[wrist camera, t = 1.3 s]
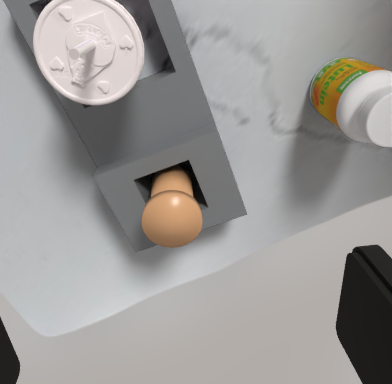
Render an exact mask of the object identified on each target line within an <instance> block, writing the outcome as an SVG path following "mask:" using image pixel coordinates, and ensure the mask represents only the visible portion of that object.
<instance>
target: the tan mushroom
mask: <svg viewBox="0 0 392 384" xmlns="http://www.w3.org/2000/svg"><path fill="white" fill-rule="evenodd" d="M202 223H203V221H202V213H201V208H200V206H199V204H198V202H197V201H196V200H195V199H194V198H193V189H192V180H191V175H190V173H189V172H188V170H187V169H186V168H185V167H183V166H181V165H179V164H176V165H173V166H170V167H167V168H165V169H162V170H159V171H157V172H155V173H154V175H153V180H152V190H151V198H150V199H149V200H148V201H147V203H146V204H145V206H144V209H143V214H142V228H143V231H144V233H145V234H146V236H147V237H148V238H149V239H150V240H151V241H153V242H154V243H156V244H158V245H160V246H164V247H180V246H183V245H186V244H188V243H190V242H191V241H193V240H194V239H195V238H196V237H197V236H198V234H199V233H200V231H201V228H202Z"/></svg>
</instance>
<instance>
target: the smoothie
mask: <svg viewBox="0 0 392 384" xmlns="http://www.w3.org/2000/svg"><path fill="white" fill-rule="evenodd" d="M33 46H34V53H35V57H36V61H37V63H38V66H39V68H40V70H41V72H42V74H43V75H44V77H45V78H46V80H47V81H48V82H49V83H50V84H51V85H52V86H53V87H54V88H55V89H56V90H57V91H58V92H59V93H61V94H62V95H63V96H65V97H67V98H69V99H71V100H73V101H75V102H78V103H81V104H86V105H104V104H108V103H112V102H114V101H116V100H118V99H120V98H121V97H123V96H124V95H126V94H127V93H128V92H129V91H130V90H131V88H132V87H133V86H134V85H135V84H136V82H137V80H138V78H139V77H140V75H141V72H142V68H143V64H144V44H143V39H142V35H141V32H140V30H139V28H138V26H137V24H136V22H135V20H134V18H133V17H132V16H131V15H130V14H129V12H128V11H127V10H126V9H125V8H124V7H123V6H122V5H121V4H119V3H118V2H116V1H115V0H52V1H51V2H50V3H49V4H48V5H47V6H46V7H45V8H44V9H43V11H42V12H41V14H40V15H39V17H38V20H37V22H36V25H35V29H34V35H33Z"/></svg>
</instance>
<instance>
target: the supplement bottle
mask: <svg viewBox="0 0 392 384" xmlns="http://www.w3.org/2000/svg"><path fill="white" fill-rule="evenodd" d="M310 100H311V103H312V105H313V107H314V108H315V109H316V111H317V112H319V113H320V114H321V115H322V116H323V117H325V118H326V119H327V120H328V121H330V122H331V123H332V124H333V125H334V126H336V127H337V128H338V129H339V130H341V131H342V132H343V133H344V134H345V135H347V136H348V137H349V138H351V139H353V140H355V141H358V142H365V143H368V142H372V143H374V144H376V145H378V146H381V147H392V72H391V71H388V70H386V69H383V68H380V67H377V66H374V65H371V64H369V63H366V62H363V61H360V60H358V59H355V58H350V57H341V58H336V59H333V60H331V61H329V62H328V63H326V64H325V65H323V66H322V67H321V68H320V69H319V70H318V72H317V73H316V74H315V76H314V78H313V80H312V82H311V86H310Z"/></svg>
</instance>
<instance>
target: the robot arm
mask: <svg viewBox="0 0 392 384" xmlns="http://www.w3.org/2000/svg"><path fill="white" fill-rule="evenodd" d="M336 331H337V335H338V338H339V340H340V342H341V344H342V346H343V348H344V349H345V352H346V353H347V355H348V357H349V359H350V361H351V363H352V365H353V367H354V368H355V370H356V372H357V374H358V376H359V378H360V380H361V382H362V383H363V384H392V259H391V257H390V256H389V255H388V254H387V253H386V252H385V251H384V250H383V249H382V248H381V247H380V246H378V245H369V246H359V247H355V248H354V249H353V251H352V253H349V254H348V255H347V257H346V264H345V270H344V276H343V283H342V289H341V295H340V302H339V308H338V315H337V321H336ZM19 372H20V362H19V360H18V357H17V355H16V352H15V350H14V348H13V346H12V343H11V341H10V339H9V336H8V334H7V332H6V329H5V327H4V325H3V322H2V320H1V318H0V384H16V381H17V379H18V376H19Z"/></svg>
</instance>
